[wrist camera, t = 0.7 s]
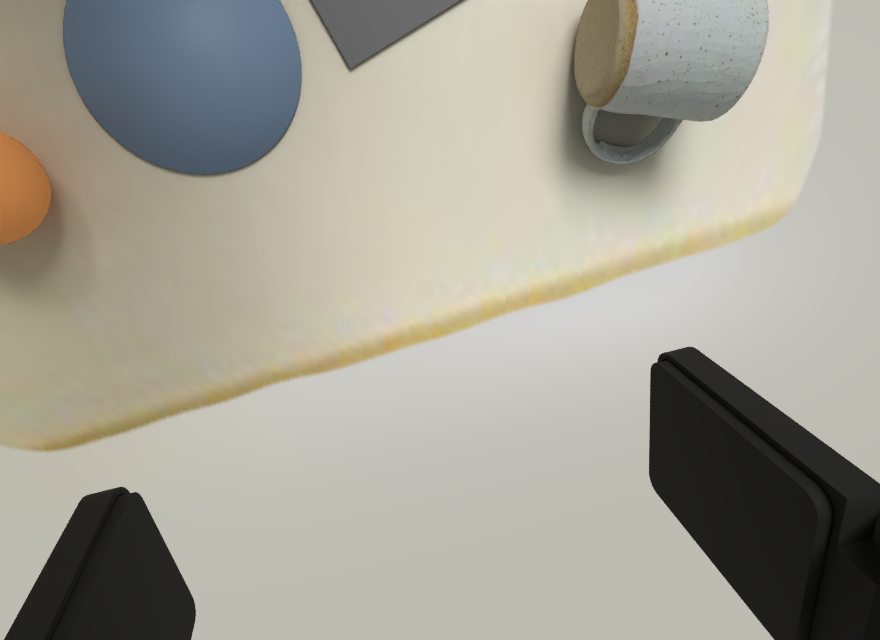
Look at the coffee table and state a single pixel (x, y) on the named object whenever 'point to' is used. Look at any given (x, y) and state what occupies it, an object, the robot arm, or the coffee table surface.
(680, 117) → the grey rounded holder
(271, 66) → the disc
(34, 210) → the ball
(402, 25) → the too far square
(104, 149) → the coffee table surface
